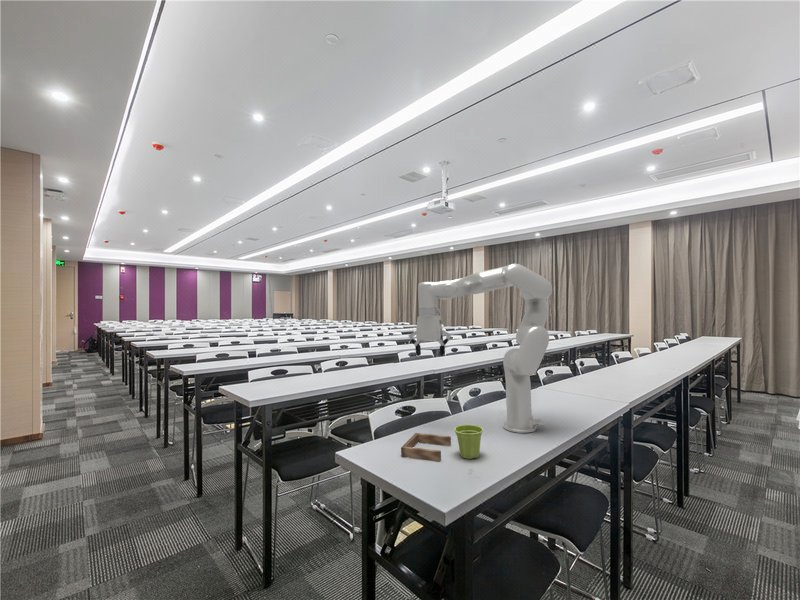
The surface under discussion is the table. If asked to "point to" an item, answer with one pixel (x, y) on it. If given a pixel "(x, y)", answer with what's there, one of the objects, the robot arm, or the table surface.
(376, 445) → the table surface
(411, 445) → the dock
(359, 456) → the table surface
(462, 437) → the plant pot
